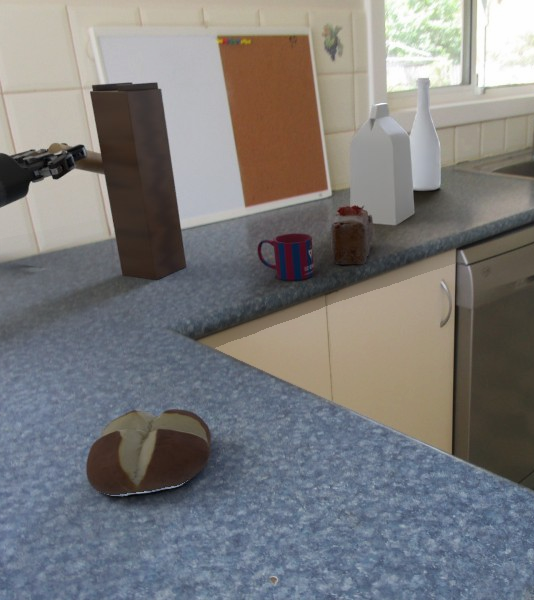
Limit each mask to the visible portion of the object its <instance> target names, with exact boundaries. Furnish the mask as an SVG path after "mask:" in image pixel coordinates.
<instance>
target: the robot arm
mask: <svg viewBox="0 0 534 600" xmlns="http://www.w3.org/2000/svg"><path fill="white" fill-rule="evenodd" d="M60 144H64V145H68V144H67V143H65V142H62V143H60ZM48 149H49V147H48V148H40V149H38V150H36V149H34V148H32V149H29V150H26V151H21V152H18V153H15V154H12V155H9V154H7V153H4V152H0V209H1V208H4V207H5V206H7V205H10V204H13V203H15V202H17V201H19V200H21V199H24V198H26V197H27V195H28V194H29V191H30V185H31V183H32V184H33V183H34V184H36V183H39V182H42V181H44V179H46V178H49V177H51V178H52V180H55V181H57V180H60V179H61V178H62V177H64V176H66V175H67V174H69V173H70V172H71V171H73V170H74V168H76V165H75V163H74V162H76V161H78V160H81V159H83V158H85V157H87V152H86V150H87V149H86V146H85V145H84V144H77V145H74V146H72V147H71V148H69V149H66V150H62V151H60V152H57V153H54V154H53V153H49V152H48ZM57 157H58V158H57Z"/></svg>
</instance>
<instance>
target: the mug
mask: <svg viewBox="0 0 534 600" xmlns="http://www.w3.org/2000/svg"><path fill="white" fill-rule="evenodd" d="M264 243H265V244H270V245H271V246H273V253H274V263H275V264H272V263H270V262H268V261H267V260H266V259H265V258H264V256H263V253H262V246H263V244H264ZM257 257H258V259H259V261H260V262H261V263H262V264H263V265H264V266H266V267H268V268H270V269H273V270H275V273H276V274H275V275H276V277H277V279H279V280H283V281H287V282H288V281H290V282H291V281H292V282H295V281H302V280H307V279H309V278H311V277H313V276H314V275H315V264H314V250H313V237H312V236H311V235H310V234H308V233H302V232H301V233H300V232H299V233H297V232H296V233H294V232H293V233H284V234H280V235H277V236H274V238H273V240H272V239H263V240H261V241H260V242H259V243H258V245H257Z"/></svg>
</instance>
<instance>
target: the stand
mask: <svg viewBox="0 0 534 600" xmlns="http://www.w3.org/2000/svg"><path fill="white" fill-rule="evenodd" d="M91 88H92V90H91V91H89V95H90V101H91V106H92V112H93V117H94V123H95V128H96V134H97V140H98V145H99V151H100V152H99V153H101V157H102V163H103V169H104V174H105V175H104V179H105V185H106V190H107V191H106V192H107V196H108V203H109V207H110V215H111V220H112V224H113V230H114V236H115V240H116V247H117V252H118V257H119V264H120V270H121V275H122V276H127V277H133V278H142V279H147V280H152V281H153V280H154V281H157V280H159V279H162V278H164V277H166V276H169V275H171V274H174V273H177V272H178V271H180V270H182V269H185V268H187V262H186V254H185V247H184V241H183V233H182V225H181V218H180V211H179V204H178V197H177V191H176V190H177V189H176V183H175V182H176V181H175V177H174V176H175V175H174V168H173V163H172V156H171V155H172V154H171V147H170V139H169V135H168V126H167V119H166V113H165V112H166V111H165V105H164V97H163V90H162V88H159V83H158V82H156V81H155V82H141V83H133V82H131V81H130V82H128V81H127V82H113V83H100V84H92V85H91Z"/></svg>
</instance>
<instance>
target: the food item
mask: <svg viewBox="0 0 534 600" xmlns="http://www.w3.org/2000/svg"><path fill="white" fill-rule="evenodd" d="M363 208H364V205H363V206H362V208H361V207H358V205H357V206H356V205H354V206H351V207H350V205H346V206H340V207H338V209H337V211H336V213H335V215H334V218H333V221H332V224H331V227H330V238H331V239H330V240H331V242H330V243H331V244H330V246H331V254H332V258H333V261H334V264H336V265H341V266H345V265H364V264H365V263H366V261H367V258H368V256H370V248H371V247H372V242H373V237H374V224H373V219H372V215H369V216H368V212H367V211H366V210H363Z"/></svg>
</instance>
